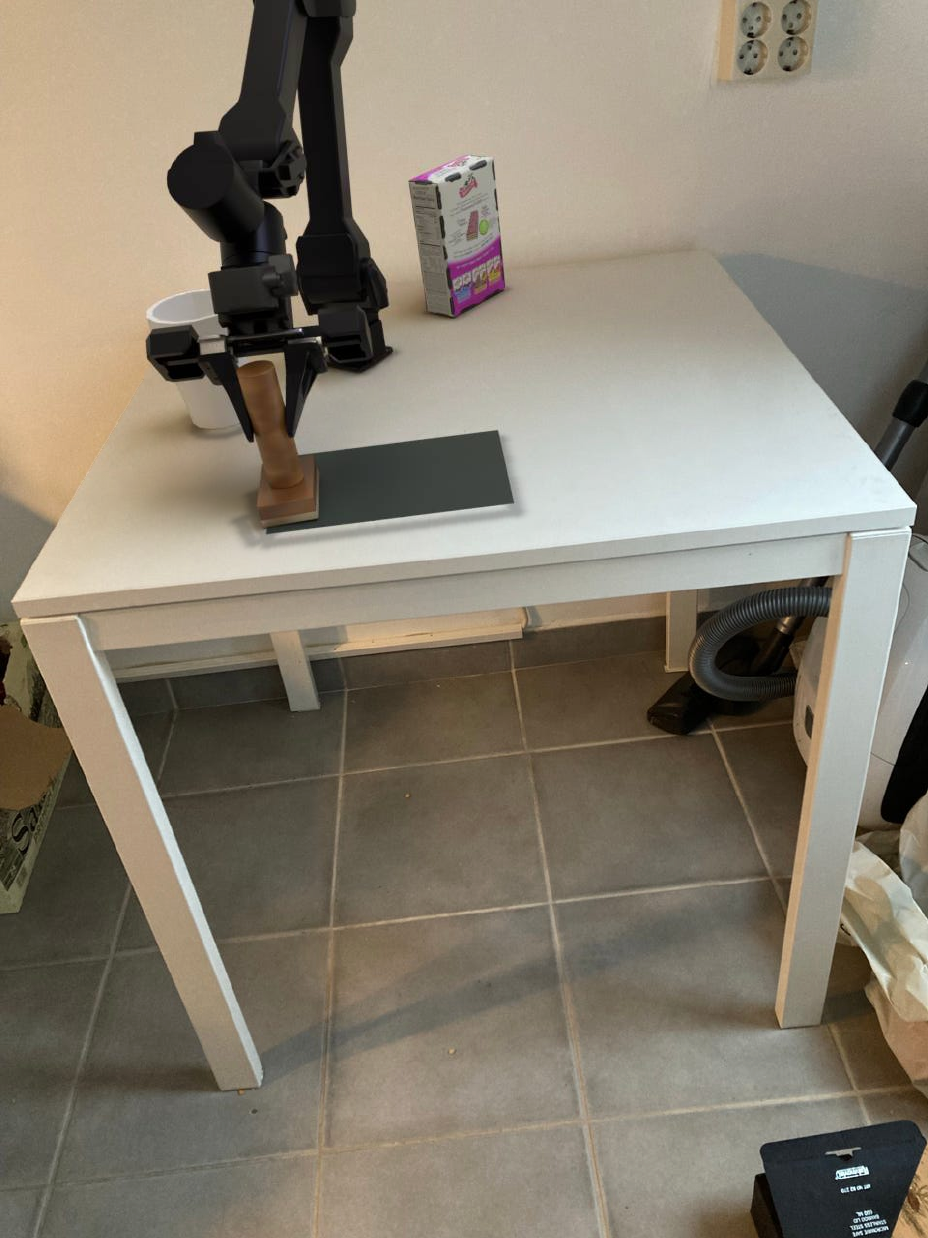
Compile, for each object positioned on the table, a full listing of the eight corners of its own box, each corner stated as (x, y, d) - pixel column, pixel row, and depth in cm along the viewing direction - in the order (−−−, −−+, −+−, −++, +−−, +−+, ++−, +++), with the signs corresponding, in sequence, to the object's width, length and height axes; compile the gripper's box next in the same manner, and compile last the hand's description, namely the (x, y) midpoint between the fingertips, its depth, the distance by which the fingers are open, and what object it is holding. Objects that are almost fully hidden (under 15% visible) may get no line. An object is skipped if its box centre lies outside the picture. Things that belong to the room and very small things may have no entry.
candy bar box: (477, 283, 133) (464, 153, 123) (506, 289, 130) (496, 156, 120) (423, 313, 126) (406, 177, 116) (453, 319, 124) (438, 181, 114)
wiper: (262, 528, 87) (221, 393, 79) (267, 483, 93) (229, 354, 85) (318, 518, 87) (282, 382, 79) (319, 474, 93) (286, 344, 85)
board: (267, 543, 87) (265, 534, 86) (279, 466, 98) (277, 457, 97) (515, 512, 87) (514, 502, 86) (498, 438, 98) (498, 429, 97)
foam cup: (194, 452, 102) (157, 331, 94) (172, 419, 109) (136, 304, 101) (280, 424, 105) (251, 306, 97) (253, 395, 112) (224, 281, 104)
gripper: (116, 233, 79) (129, 420, 76) (348, 205, 78) (367, 392, 76) (161, 296, 90) (173, 461, 88) (364, 272, 89) (382, 437, 87)
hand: (270, 438), depth 84 cm, fingers closed on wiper, 3 cm apart
